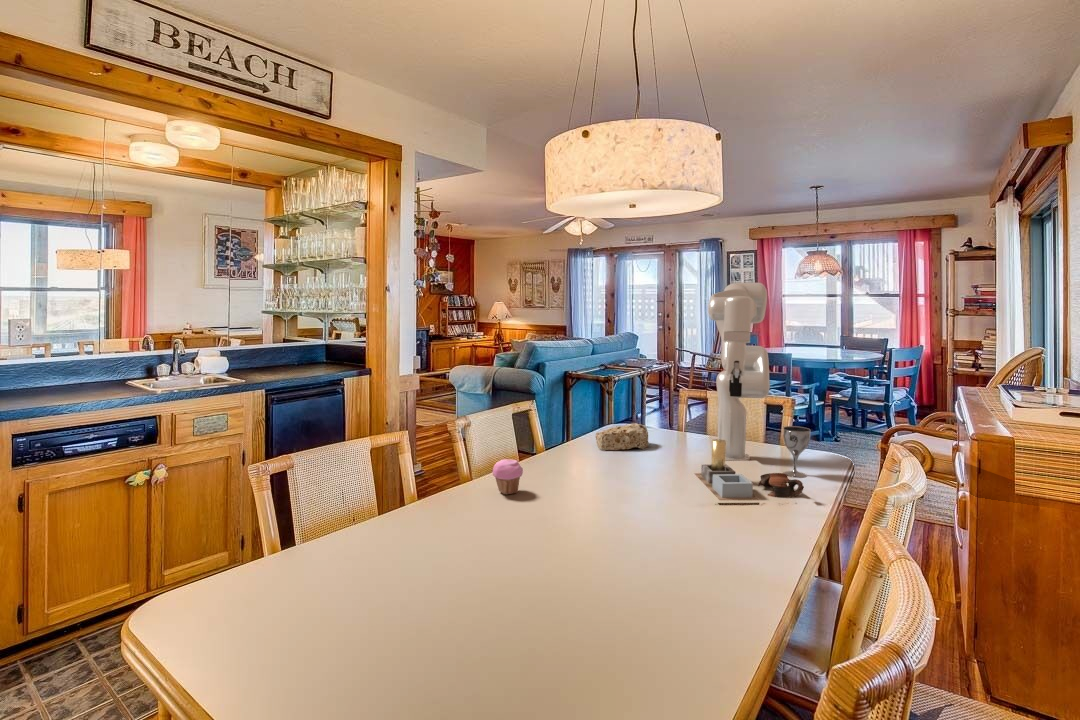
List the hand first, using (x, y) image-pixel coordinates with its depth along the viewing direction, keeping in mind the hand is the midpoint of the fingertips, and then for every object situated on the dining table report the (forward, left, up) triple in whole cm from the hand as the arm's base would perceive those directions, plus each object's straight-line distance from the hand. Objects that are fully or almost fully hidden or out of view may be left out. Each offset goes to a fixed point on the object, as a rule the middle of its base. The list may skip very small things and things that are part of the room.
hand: (735, 394), depth 168 cm
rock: (-46, -27, -28) cm, 60 cm away
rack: (+13, -5, -26) cm, 29 cm away
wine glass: (-8, +23, -28) cm, 37 cm away
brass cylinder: (+1, -5, -26) cm, 27 cm away
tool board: (+7, -5, -28) cm, 29 cm away
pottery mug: (+13, +9, -28) cm, 32 cm away
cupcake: (+7, -69, -28) cm, 74 cm away
